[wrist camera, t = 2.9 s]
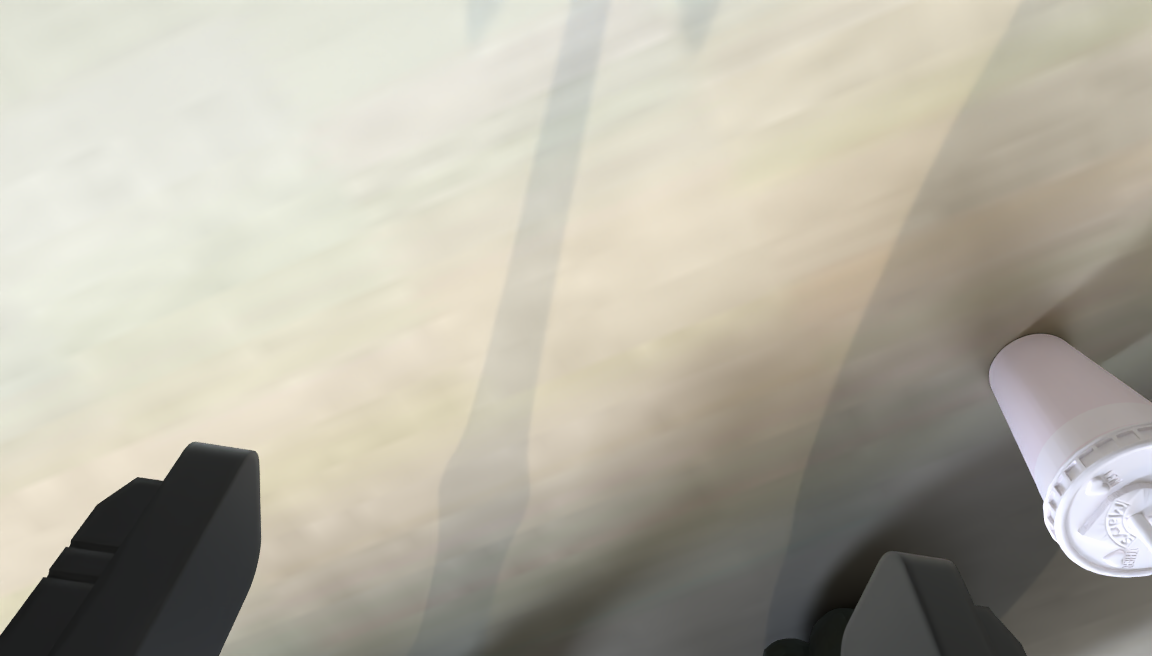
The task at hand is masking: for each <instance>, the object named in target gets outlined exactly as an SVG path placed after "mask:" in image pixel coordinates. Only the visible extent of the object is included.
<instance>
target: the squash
mask: <svg viewBox="0 0 1152 656" xmlns="http://www.w3.org/2000/svg"><path fill="white" fill-rule="evenodd" d="M854 610H855V609H850V608H840V609H834V610H832V611H829V612H828V613H826V614H825V615H824V616H822V618H821V619H820V620H819V621H818V622H817V623H816V624H815V625H814V627H813V629H812V632H811V636H810V642H809V643H806V642H804V641H801V640H798V639H783V640H778V641H776V642H774V643H772V644H771V645H770V646H768V647H767V648H766V649H765V650H764V653H763V656H841V645H842V639H843V634H844V631H845V628H846V626H847V624H848V622H849V620H850V618H851V616H852V614H853V612H854Z"/></svg>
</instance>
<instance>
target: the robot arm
mask: <svg viewBox="0 0 1152 656" xmlns="http://www.w3.org/2000/svg"><path fill="white" fill-rule="evenodd" d="M260 546H261V515H260V470H259V458H258V454H257V453H256V451H252V450H245V449H239V448H232V447H226V446H219V445H213V444H206V443H200V442H192V443H191V444H189V445H188V446H187V447H186V448H185V450H184V451H183V452H182V454H181V455H180V457H179V458H178V460H177V461H176V463H175V464H174V466H173V467H172V469H171V470H170V472H169V473H168V475H167V476H166V478H165V479H164V481H159V480H153V479H146V478H139V477H137V478H135V479H134V480H132V481H131V482H130V483H128V484H127V485H125V486H124V487H122V488H121V489H119V490H118V491H116V492H115V493H114V494H112V495H111V496H109V497H108V498H106V499H105V500H103V501H102V502H100V503H99V504H97V506H96V507H95V508H94V510H93V511H92V512H91V514H90V515H89V516H88V518H87V519H86V520H85V522H84V523H83V525H82V526H81V527H80V529H79V530H78V531H77V533H76V534H75V535H74V537H73V538H72V539H71V544H70V546H69V547H65V549H64V550H63V552H62V553H61V554H60V556H59V557H58V558H57V560H56V561H55V562H54V564H53V565H52V566H51V568H50V569H49V574H48V576H47V578H46V577H43V579H42V580H41V581H40V583H39V584H38V585H37V587H36V588H35V589H34V591H33V592H32V593H31V595H30V596H29V597H28V599H27V600H26V601H25V603H24V604H23V606H22V607H21V608H20V610H19V611H18V612H17V614H16V615H15V616H14V618H13V619H12V620H11V622H10V623H9V624H8V626H7V627H6V628H5V630H4V631H3V633H2V634H1V635H0V656H219V654H220V652H221V650H222V648H223V645H224V643H225V641H226V639H227V637H228V635H229V632H230V630H231V628H232V626H233V624H234V622H235V620H236V617H237V615H238V613H239V611H240V609H241V607H242V604H243V602H244V600H245V598H246V596H247V594H248V591H249V589H250V587H251V584H252V581H253V578H254V575H255V571H256V568H257V563H258V559H259V553H260ZM841 656H1027V655H1026V653H1025V651H1024V649H1023V647H1022V645H1021V643H1020V642H1019V641H1018V640H1017V639H1016V638H1015V637H1014V636H1013V634H1012V633H1011V632H1010V631H1009V630H1008V629H1007V628H1006V627H1005V626H1004V624H1003V623H1002V622H1001V621H1000V620H999V619H998V618H997V617H996V616H995V614H994V613H993V612H992V611H991V610H990V609H989V608H988V607H983V606H976V605H974V603H973V601H972V599H971V597H970V594H969V592H968V590H967V588H966V586H965V584H964V582H963V579H962V577H961V575H960V573H959V571H958V569H957V567H956V566H955V565H954V564H953V563H952V562H951V561H950V560H947V559H942V558H936V557H929V556H923V555H916V554H910V553H903V552H897V551H888V552H886V553H885V554H884V555H883V556H882V557H881V559H880V560H879V562H878V564H877V566H876V568H875V570H874V572H873V574H872V576H871V578H870V580H869V582H868V584H867V586H866V588H865V590H864V592H863V594H862V596H861V598H860V600H859V602H858V604H857V606H856V608H855V610H854V612H853V614H852V616H851V618H850V620H849V622H848V624H847V626H846V628H845V631H844V634H843V639H842V645H841Z"/></svg>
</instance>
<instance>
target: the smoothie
mask: <svg viewBox="0 0 1152 656" xmlns="http://www.w3.org/2000/svg"><path fill="white" fill-rule="evenodd" d="M989 382H990V386H991V388H992V390H993V393H994V395H995V397H996V399H997V401H998V403H999V406H1000V408H1001V410H1002V412H1003V414H1004V416H1005V418H1006V421H1007V423H1008V425H1009V427H1010V429H1011V431H1012V434H1013V436H1014V438H1015V440H1016V442H1017V444H1018V447H1019V449H1020V451H1021V453H1022V455H1023V457H1024V459H1025V462H1026V464H1027V466H1028V468H1029V470H1030V472H1031V475H1032V477H1033V479H1034V481H1035V483H1036V485H1037V488H1038V491H1039V493H1040V495H1041V497H1042V499H1043V501H1044V503H1043V510H1044V521H1045V524H1046V526H1047V528H1048V530H1049V532H1050V534H1051V536H1052V538H1053V539H1054V540H1055V541H1056V542H1057V543H1058V544H1059V545H1060V547H1061V549H1062V550H1063V551H1064V553H1065V554H1066V555H1067V556H1068V557H1069V558H1070V559H1071V560H1072V561H1073V562H1075V563H1076V564H1077V565H1079V566H1081V567H1082V568H1085V569H1087V570H1089V571H1092V572H1094V573H1098V574H1101V575H1107V576H1113V577H1139V576H1148V575H1152V403H1151V402H1150V401H1149V400H1147V399H1146V398H1144V397H1143V396H1142V395H1140V394H1139V393H1137V392H1136V391H1135V390H1133V389H1132V388H1130V387H1129V386H1128V385H1126V384H1125V383H1123V382H1122V381H1120V380H1119V379H1118V378H1116V377H1115V376H1113V375H1112V374H1111V373H1109V372H1108V371H1106V370H1105V369H1104V368H1102V367H1101V366H1099V365H1098V364H1096V363H1095V362H1094V361H1092V360H1091V359H1089V358H1088V357H1087V356H1085V355H1084V354H1082V353H1081V352H1080V351H1078V350H1077V349H1075V348H1074V347H1073V346H1071V345H1070V344H1068V343H1067V342H1065V341H1064V340H1063V339H1061V338H1059V337H1057V336H1054V335H1049V334H1033V335H1028V336H1024V337H1021V338H1019V339H1017V340H1015V341H1013V342H1011V343H1010V344H1008V345H1007V346H1006V347H1004V348H1003V349H1002V350H1001V351H1000V352H999V353H998V354H997V356H996V357H995V359H994V360H993V362H992V364H991V367H990V371H989Z"/></svg>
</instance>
